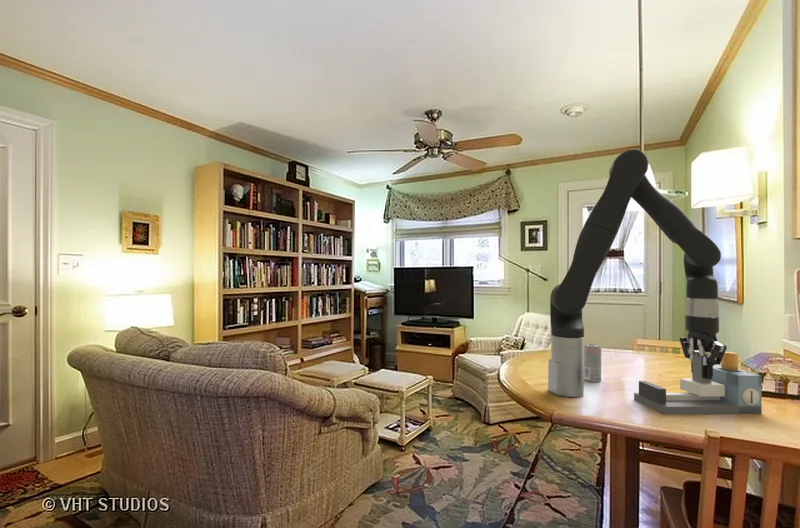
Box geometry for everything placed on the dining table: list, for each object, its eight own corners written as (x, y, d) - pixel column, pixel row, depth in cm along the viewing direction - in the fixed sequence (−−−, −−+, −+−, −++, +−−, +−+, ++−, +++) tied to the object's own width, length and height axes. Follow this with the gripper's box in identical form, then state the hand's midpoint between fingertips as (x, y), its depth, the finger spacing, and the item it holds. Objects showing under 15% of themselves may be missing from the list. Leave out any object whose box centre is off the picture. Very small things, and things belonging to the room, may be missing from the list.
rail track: (665, 415, 103) (666, 376, 104) (634, 399, 116) (634, 365, 116) (763, 414, 105) (763, 376, 106) (721, 399, 118) (721, 365, 118)
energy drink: (597, 378, 139) (597, 344, 140) (603, 382, 134) (604, 346, 134) (581, 378, 140) (581, 343, 140) (587, 382, 134) (587, 346, 135)
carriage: (700, 396, 107) (700, 359, 108) (680, 388, 114) (680, 353, 115) (724, 396, 108) (724, 359, 108) (703, 388, 115) (703, 353, 115)
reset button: (729, 370, 110) (729, 354, 110) (718, 367, 114) (718, 351, 114) (741, 370, 110) (741, 354, 110) (729, 367, 114) (729, 351, 114)
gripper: (670, 312, 118) (670, 371, 118) (710, 317, 104) (710, 384, 104) (694, 312, 119) (694, 370, 119) (737, 317, 105) (737, 384, 105)
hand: (701, 376), depth 111 cm, fingers closed on carriage, 3 cm apart
